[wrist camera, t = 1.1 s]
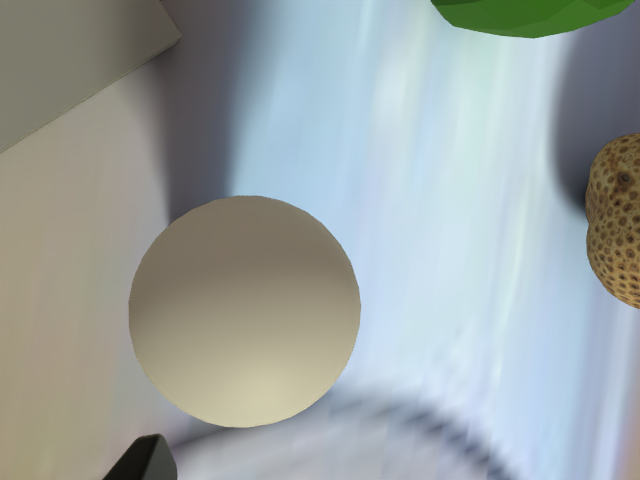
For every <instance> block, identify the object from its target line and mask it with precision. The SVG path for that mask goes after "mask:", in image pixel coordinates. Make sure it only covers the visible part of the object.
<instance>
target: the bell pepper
mask: <svg viewBox="0 0 640 480" xmlns="http://www.w3.org/2000/svg"><path fill="white" fill-rule="evenodd" d="M634 1H635V0H431V2H432V4H433V5H434V6H435V7H436V9H437V10H438V11H439V12H440V14H441V15H442V16H443V17H444V19H446V20H447V21H448V22H449V23H450V24H452V25H453V26H455V27H459V28H464V29H469V30H474V31H478V32H484V33H489V34H495V35H500V36H511V37H523V38H538V37H544V36H549V35H554V34H559V33H564V32H569V31H574V30H576V29H579V28H582V27H584V26H587V25H590V24H592V23H595V22H598V21H600V20H603V19H606V18H608V17H611V16H614V15H616V14H619V13H620V12H621V11H623V10H624V9H625V8H626V7H628V6H629V5H630V4H631V3H633V2H634Z"/></svg>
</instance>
